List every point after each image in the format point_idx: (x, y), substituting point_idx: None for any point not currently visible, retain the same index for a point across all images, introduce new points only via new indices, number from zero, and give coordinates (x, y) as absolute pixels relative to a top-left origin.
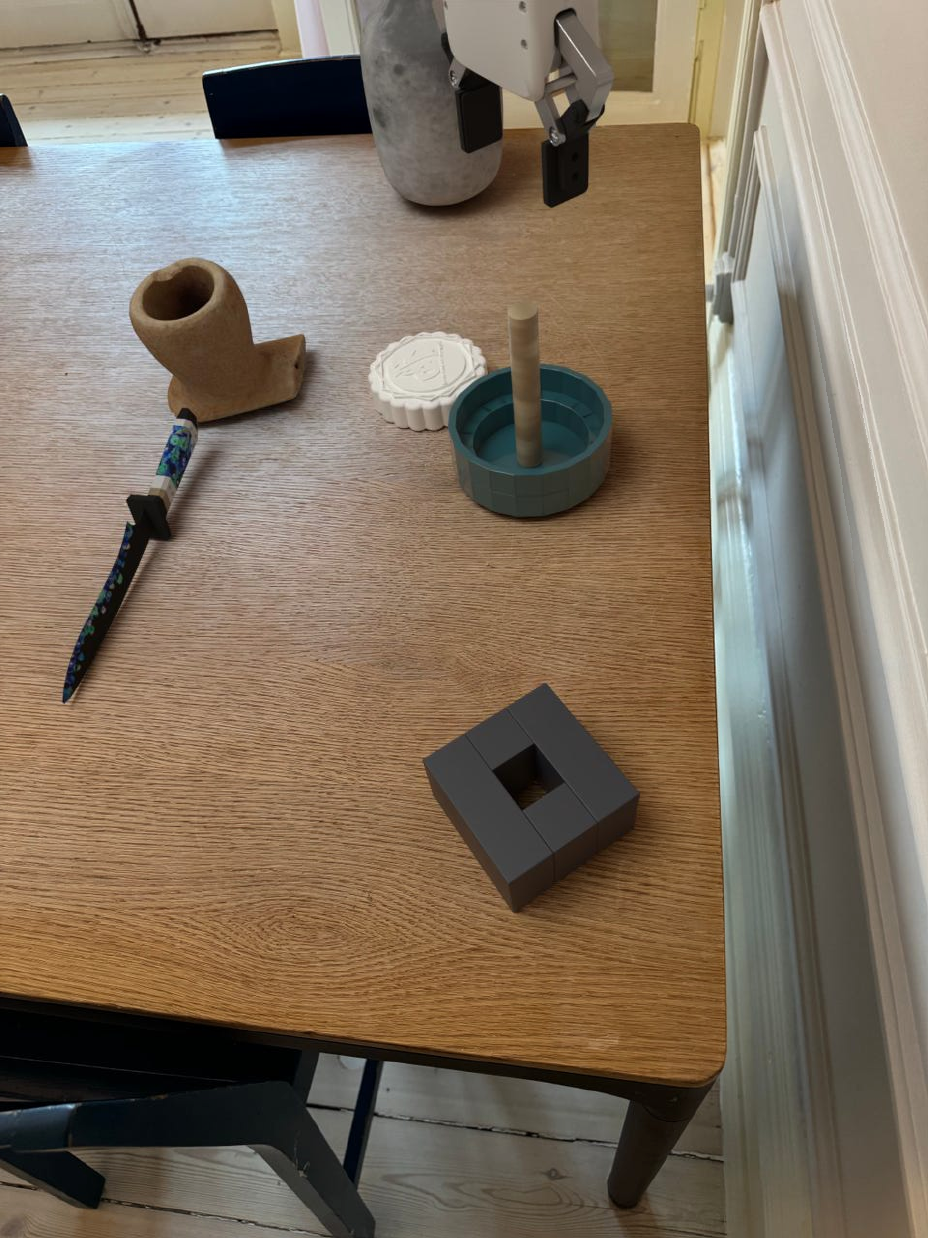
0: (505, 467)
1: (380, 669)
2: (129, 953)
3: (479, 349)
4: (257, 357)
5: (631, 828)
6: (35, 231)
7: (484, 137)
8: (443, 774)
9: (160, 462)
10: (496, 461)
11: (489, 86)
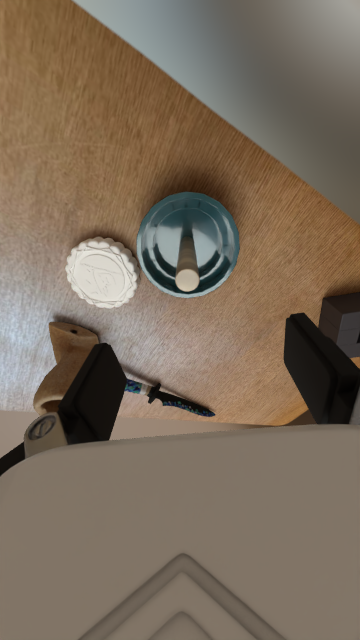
0: None
1: (258, 340)
2: (296, 408)
3: (93, 241)
4: (77, 355)
5: None
6: None
7: (116, 371)
8: None
9: (133, 392)
10: None
11: (86, 413)
